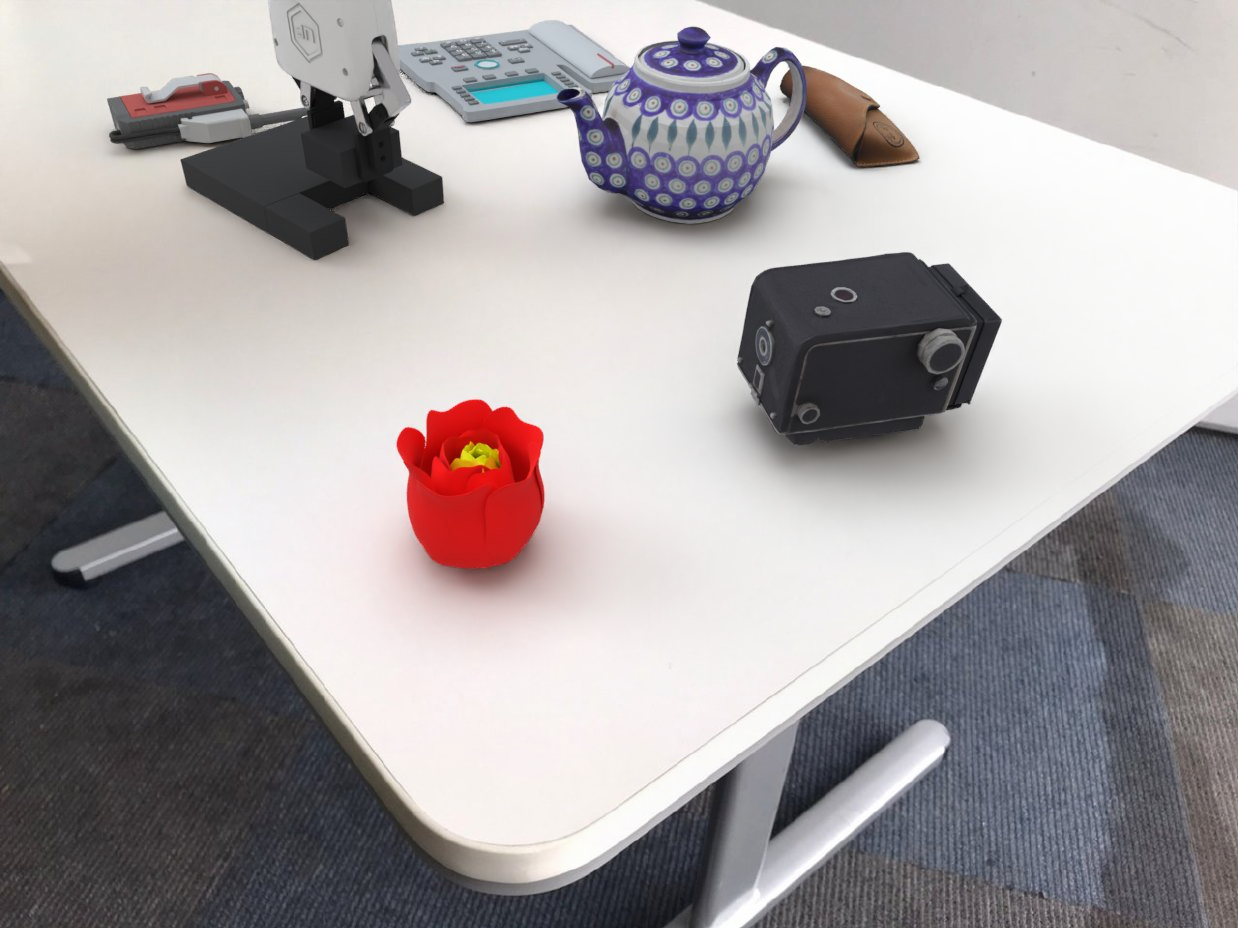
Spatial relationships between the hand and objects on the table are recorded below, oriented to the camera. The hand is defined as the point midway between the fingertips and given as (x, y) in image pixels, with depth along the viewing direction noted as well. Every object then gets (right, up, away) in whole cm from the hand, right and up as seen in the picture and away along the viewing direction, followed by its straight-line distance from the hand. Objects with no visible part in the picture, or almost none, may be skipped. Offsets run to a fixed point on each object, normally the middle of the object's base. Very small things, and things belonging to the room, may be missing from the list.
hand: (353, 162), depth 84 cm
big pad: (-5, -1, +6) cm, 8 cm away
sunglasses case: (+46, +10, +23) cm, 52 cm away
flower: (+14, -30, -24) cm, 41 cm away
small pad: (0, 0, 0) cm, 0 cm away
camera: (+37, -22, -14) cm, 45 cm away
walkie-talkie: (-17, +8, +15) cm, 24 cm away
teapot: (+27, -1, +9) cm, 29 cm away
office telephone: (+11, +18, +29) cm, 36 cm away
